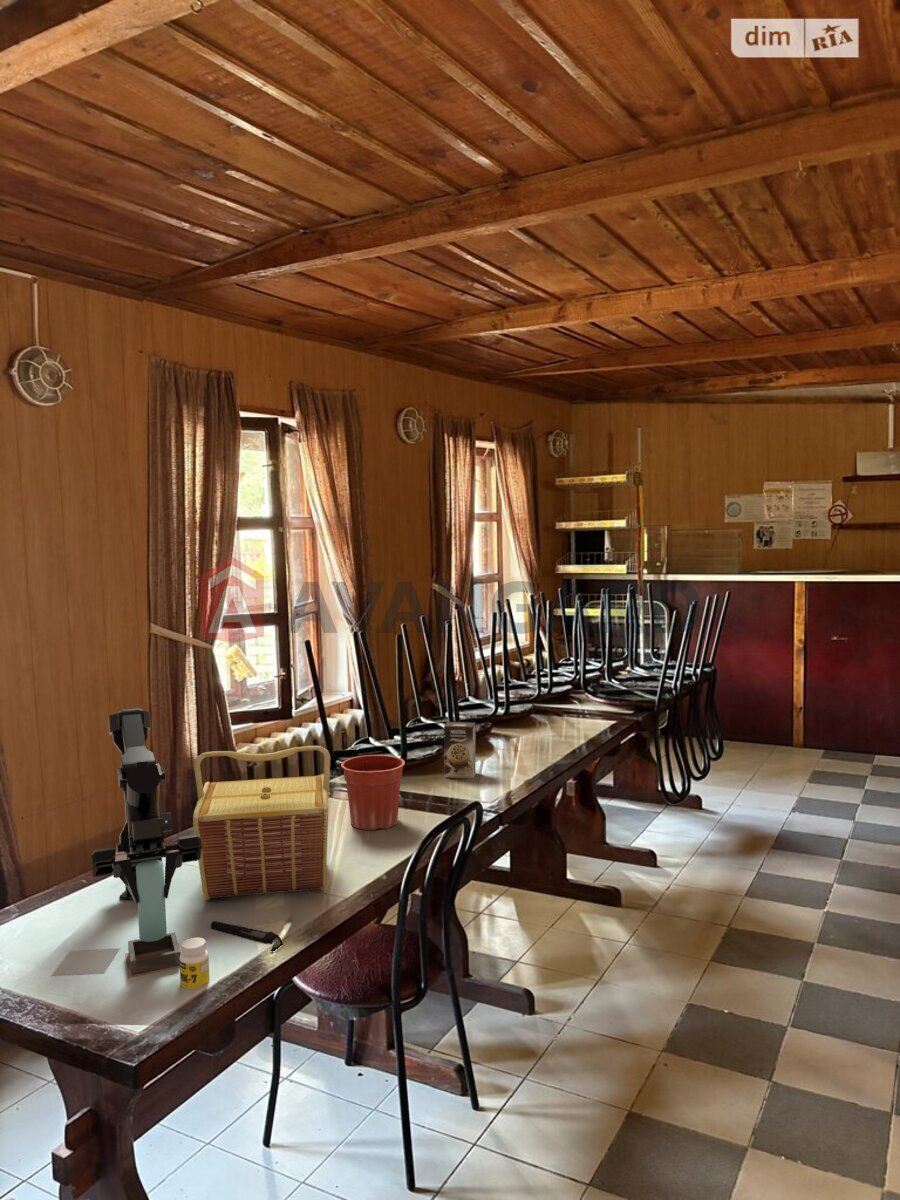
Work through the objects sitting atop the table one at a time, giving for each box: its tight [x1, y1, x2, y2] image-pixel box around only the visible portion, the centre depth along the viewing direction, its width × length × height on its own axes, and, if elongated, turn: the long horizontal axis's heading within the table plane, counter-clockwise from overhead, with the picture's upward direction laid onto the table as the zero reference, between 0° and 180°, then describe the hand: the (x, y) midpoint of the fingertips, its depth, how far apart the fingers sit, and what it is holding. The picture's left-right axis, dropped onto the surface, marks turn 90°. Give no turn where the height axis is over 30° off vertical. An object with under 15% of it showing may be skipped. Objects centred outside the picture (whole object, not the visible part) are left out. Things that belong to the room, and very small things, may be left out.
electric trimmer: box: [210, 920, 284, 952], centre depth 168 cm, size 4×16×3 cm, turn 64°
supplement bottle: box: [179, 936, 210, 990], centre depth 151 cm, size 5×5×8 cm
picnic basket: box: [192, 745, 331, 901], centre depth 194 cm, size 29×26×30 cm
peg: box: [136, 860, 168, 942], centre depth 157 cm, size 5×5×13 cm
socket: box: [124, 932, 181, 979], centre depth 158 cm, size 9×9×4 cm
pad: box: [51, 947, 121, 977], centre depth 158 cm, size 9×9×2 cm
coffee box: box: [443, 721, 477, 779], centre depth 273 cm, size 9×6×16 cm
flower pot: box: [340, 754, 405, 831], centre depth 231 cm, size 16×16×16 cm
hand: (151, 900), depth 156 cm, fingers closed on peg, 5 cm apart
